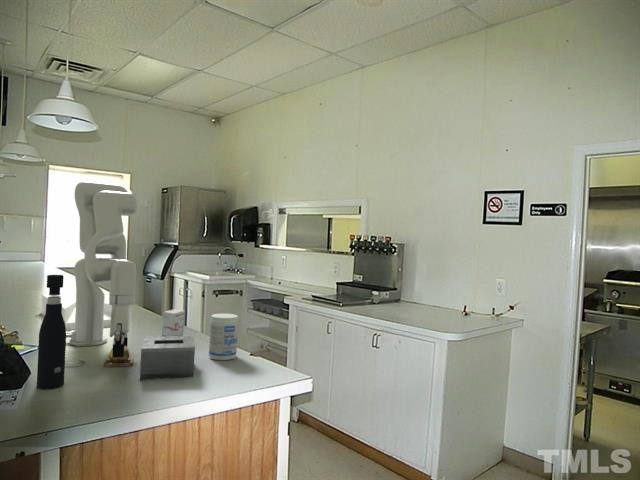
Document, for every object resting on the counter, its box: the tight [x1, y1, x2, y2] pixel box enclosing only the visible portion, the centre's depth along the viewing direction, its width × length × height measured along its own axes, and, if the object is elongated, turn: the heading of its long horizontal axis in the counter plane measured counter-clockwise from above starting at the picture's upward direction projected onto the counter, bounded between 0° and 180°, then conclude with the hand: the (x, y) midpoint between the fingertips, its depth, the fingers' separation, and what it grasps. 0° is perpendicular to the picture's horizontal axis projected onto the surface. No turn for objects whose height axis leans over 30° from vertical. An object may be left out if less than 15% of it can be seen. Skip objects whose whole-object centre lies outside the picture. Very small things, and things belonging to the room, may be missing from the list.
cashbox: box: [139, 335, 196, 381], centre depth 139 cm, size 15×15×9 cm
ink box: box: [161, 308, 186, 336], centre depth 176 cm, size 9×5×12 cm, turn 168°
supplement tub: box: [208, 313, 239, 361], centre depth 157 cm, size 10×10×15 cm
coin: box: [108, 345, 131, 363], centre depth 143 cm, size 3×6×6 cm, turn 108°
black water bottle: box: [36, 274, 67, 390], centre depth 121 cm, size 6×6×30 cm
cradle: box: [102, 357, 135, 368], centre depth 143 cm, size 8×5×1 cm, turn 108°
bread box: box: [40, 294, 112, 332], centre depth 207 cm, size 45×22×10 cm, turn 42°
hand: (120, 353), depth 142 cm, fingers open, 9 cm apart
